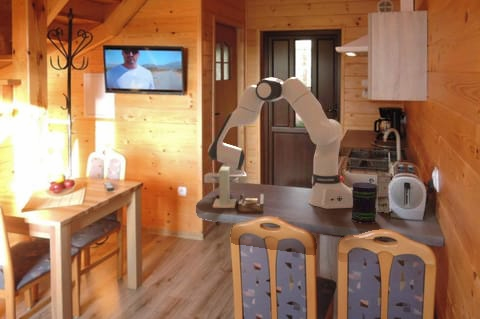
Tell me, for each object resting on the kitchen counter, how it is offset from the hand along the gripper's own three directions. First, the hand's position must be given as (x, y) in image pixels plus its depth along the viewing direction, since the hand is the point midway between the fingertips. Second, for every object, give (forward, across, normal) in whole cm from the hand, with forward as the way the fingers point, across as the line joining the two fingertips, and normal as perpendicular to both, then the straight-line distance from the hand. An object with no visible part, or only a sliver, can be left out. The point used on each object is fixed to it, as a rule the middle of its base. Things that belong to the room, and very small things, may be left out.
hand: (224, 181), depth 227 cm
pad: (-1, 0, +11) cm, 11 cm away
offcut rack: (+2, +12, +11) cm, 17 cm away
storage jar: (+22, +60, +11) cm, 65 cm away
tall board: (-1, 0, +10) cm, 10 cm away
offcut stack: (+8, +12, +11) cm, 18 cm away
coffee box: (+6, +72, +11) cm, 73 cm away
